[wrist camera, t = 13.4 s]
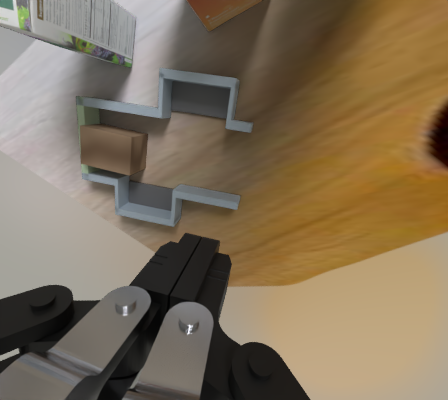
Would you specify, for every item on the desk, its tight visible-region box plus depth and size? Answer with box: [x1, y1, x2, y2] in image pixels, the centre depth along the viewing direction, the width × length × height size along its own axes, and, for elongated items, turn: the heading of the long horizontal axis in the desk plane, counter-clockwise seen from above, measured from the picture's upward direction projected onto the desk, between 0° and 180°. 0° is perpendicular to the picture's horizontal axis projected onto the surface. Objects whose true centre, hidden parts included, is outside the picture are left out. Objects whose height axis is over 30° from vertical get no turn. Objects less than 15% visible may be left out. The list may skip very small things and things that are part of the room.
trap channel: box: [76, 68, 253, 227], centre depth 33 cm, size 20×22×3 cm
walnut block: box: [80, 124, 148, 176], centre depth 33 cm, size 5×7×4 cm
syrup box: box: [0, 0, 136, 68], centre depth 24 cm, size 6×6×14 cm
